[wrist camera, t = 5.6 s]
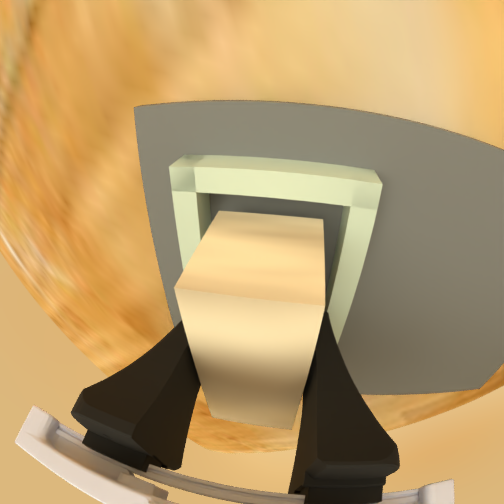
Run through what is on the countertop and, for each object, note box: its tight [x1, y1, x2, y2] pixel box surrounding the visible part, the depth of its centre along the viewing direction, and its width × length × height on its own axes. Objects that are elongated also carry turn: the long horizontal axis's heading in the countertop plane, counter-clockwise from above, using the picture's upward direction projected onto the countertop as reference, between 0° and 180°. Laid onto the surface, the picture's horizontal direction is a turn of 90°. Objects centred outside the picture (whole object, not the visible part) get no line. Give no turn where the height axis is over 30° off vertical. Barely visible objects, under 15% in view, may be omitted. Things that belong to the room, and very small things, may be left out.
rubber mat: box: [134, 100, 504, 395], centre depth 14 cm, size 26×19×1 cm
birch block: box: [174, 211, 325, 430], centre depth 12 cm, size 9×4×4 cm, turn 0°
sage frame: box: [169, 155, 383, 344], centre depth 14 cm, size 8×13×2 cm, turn 179°
